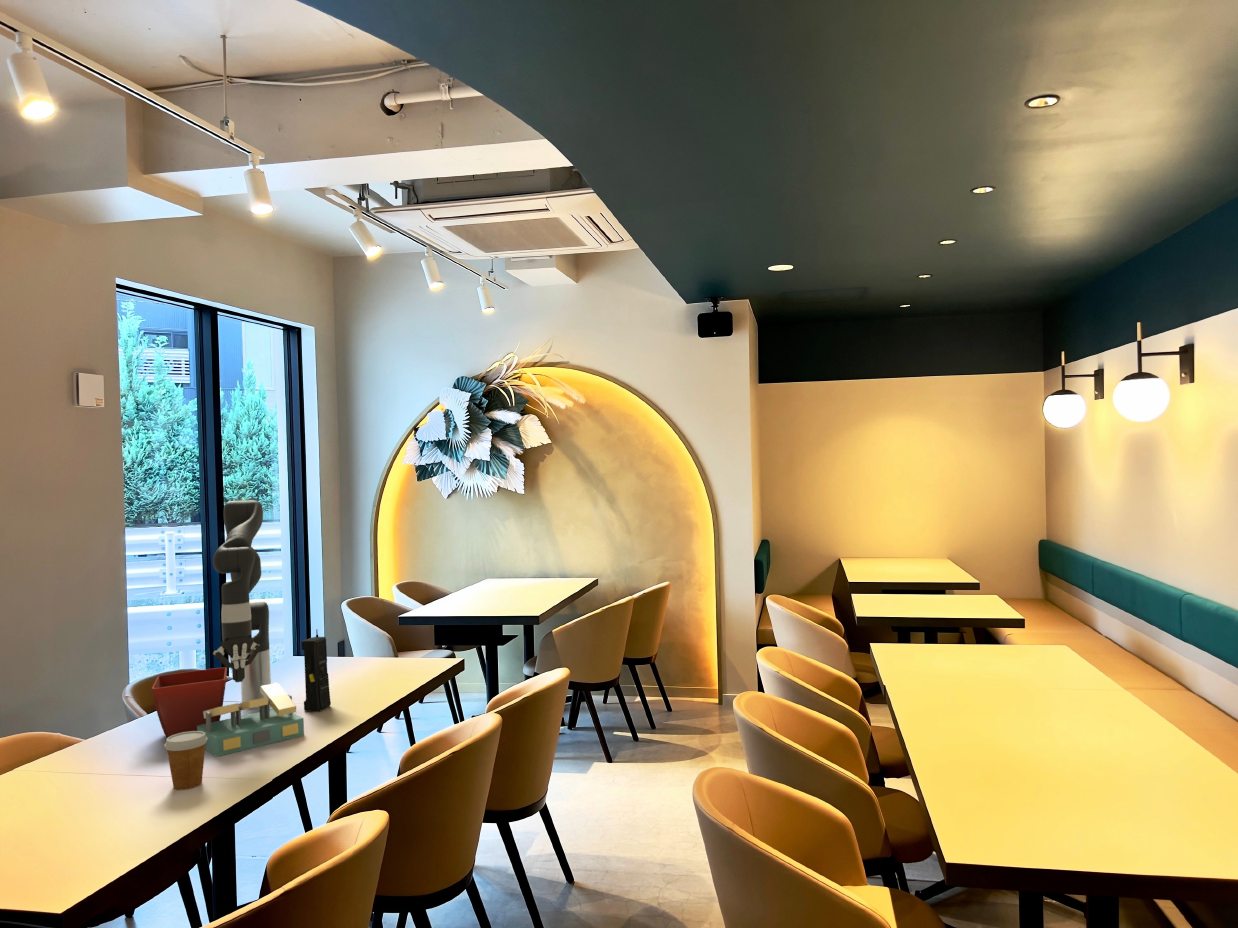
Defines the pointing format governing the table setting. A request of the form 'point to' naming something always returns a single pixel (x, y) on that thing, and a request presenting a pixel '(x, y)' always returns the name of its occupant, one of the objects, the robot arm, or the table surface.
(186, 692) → the plant pot
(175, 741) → the disposable coffee cup
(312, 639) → the portable radio
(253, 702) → the rocker
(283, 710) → the rocker
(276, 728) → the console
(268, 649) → the robot arm
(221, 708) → the rocker
